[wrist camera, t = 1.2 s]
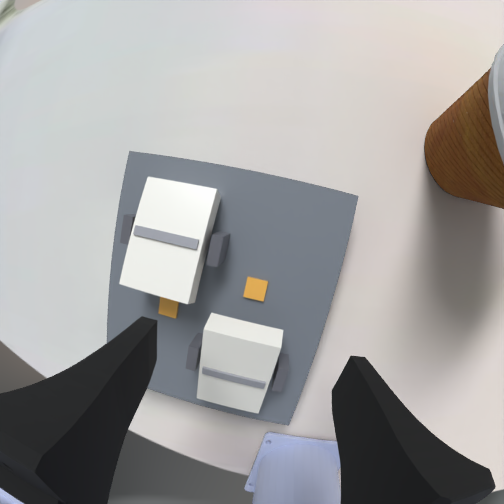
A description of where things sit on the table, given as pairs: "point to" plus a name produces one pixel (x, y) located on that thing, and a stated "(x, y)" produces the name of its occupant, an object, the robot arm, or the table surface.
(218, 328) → the rocker
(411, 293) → the table surface
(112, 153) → the table surface
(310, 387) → the table surface
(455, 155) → the disposable coffee cup
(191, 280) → the rocker
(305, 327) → the console
